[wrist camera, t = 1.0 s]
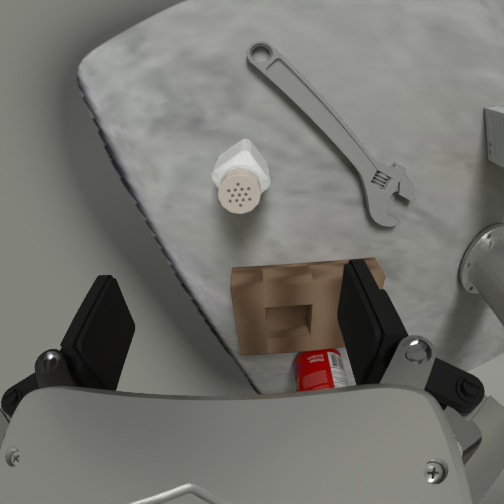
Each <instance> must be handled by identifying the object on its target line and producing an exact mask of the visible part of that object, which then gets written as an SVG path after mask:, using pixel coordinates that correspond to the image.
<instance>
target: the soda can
mask: <svg viewBox="0 0 504 504" xmlns="http://www.w3.org/2000/svg"><path fill="white" fill-rule="evenodd" d="M294 374H295V382H296V392H301V391H311V390H321V389H330V388H338V387H346V386H348V382H347V378H346V374H345V370H344V366H343V362H342V358H341V355H340V353H339V351H338V350H336V349H335V348H330V349H321V350H311V351H303V352H301V353H300V354H299V355H298V356H297V357H296V359H295V360H294Z"/></svg>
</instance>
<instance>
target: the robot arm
mask: <svg viewBox="0 0 504 504" xmlns="http://www.w3.org/2000/svg"><path fill="white" fill-rule="evenodd" d="M459 277H460V282H461V284H462V286H463V287H464V288H465V290H466V291H467V292H469V293H472V294H478V293H480V294H481V295H482V297H483V298H484V300H485V301H486V302H487V304H488V305H489V306H490V308H491V309H492V311H493V312H494V313H495V315H496V316H497V318H498V319H499V321H500V322H501V324H502V325H503V327H504V224H495V225H492V226H490V227H488V228H486V229H485V230H484V231H482V232H481V233H480V234H479V235H478V236H477V237H476V238H475V239H474V241H473V242H472V243H471V245H470V246H469V248H468V249H467V251H466V253H465V255H464V257H463V260H462V263H461V267H460V276H459ZM337 320H338V323H339V327H340V330H341V333H342V337H343V340H344V343H345V347H346V350H347V353H348V357H349V360H350V364H351V367H352V371H353V374H354V378H355V382H356V385H355V386H346V387H338V388H330V389H321V390H311V391H301V392H290V393H277V394H261V395H238V396H237V395H236V396H186V395H160V394H145V393H132V392H121V391H116V389H117V385H118V382H119V379H120V375H121V372H122V369H123V366H124V363H125V359H126V356H127V353H128V350H129V347H130V344H131V341H132V338H133V335H134V332H135V323H134V321H133V319H132V316H131V314H130V312H129V310H128V307H127V305H126V302H125V300H124V297H123V295H122V292H121V290H120V287H119V285H118V282H117V280H116V279H115V278H113V277H112V276H111V275H99V276H98V277H97V278H96V280H95V282H94V283H93V285H92V287H91V288H90V290H89V292H88V294H87V295H86V297H85V299H84V301H83V302H82V304H81V306H80V308H79V310H78V312H77V313H76V315H75V317H74V319H73V321H72V323H71V325H70V327H69V329H68V330H67V332H66V334H65V336H64V338H63V340H62V342H61V344H60V345H61V347H62V348H61V350H60V351H59V350H57V349H49V350H47V351H45V352H43V353H42V354H41V355H40V356H39V357H38V358H37V360H36V363H35V373H33V374H32V375H30V376H29V377H27V378H26V379H24V380H22V381H20V382H19V383H17V384H15V385H14V386H12V387H11V388H9V389H8V390H7V391H6V392H5V393H4V395H3V397H2V401H1V406H2V407H1V408H0V504H478V503H479V502H480V500H481V499H482V498H483V497H484V495H485V494H486V493H487V491H488V490H489V489H490V487H491V486H492V484H493V483H494V482H495V480H496V479H497V477H498V476H499V475H500V473H501V472H502V470H503V469H504V407H503V406H502V405H501V404H500V403H498V402H497V401H496V400H495V399H494V398H493V397H492V396H489V397H487V396H486V395H484V387H483V384H482V382H481V381H480V380H479V379H478V378H477V377H475V376H474V375H472V374H470V373H467V372H465V371H463V370H461V369H459V368H457V367H455V366H453V365H450V364H448V363H446V362H444V361H442V360H440V359H438V358H436V357H435V356H436V351H435V348H434V346H433V344H432V343H431V342H430V341H429V340H427V339H426V338H424V337H421V336H417V335H411V336H408V334H407V332H406V330H405V327H404V325H403V323H402V321H401V319H400V317H399V315H398V313H397V311H396V309H395V307H394V306H393V304H392V302H391V300H390V298H389V296H388V294H387V292H386V291H385V290H384V289H379V287H378V285H377V283H376V281H375V279H374V277H373V275H372V273H371V272H370V270H369V268H368V266H367V264H366V262H365V261H364V259H354V260H349V262H348V264H344V269H343V277H342V284H341V291H340V298H339V305H338V311H337ZM454 435H455V436H454ZM456 440H457V441H458V442H459V443H460V445H461V446H462V450H463V455H462V457H461V454H460V451H459V448H458V445H457V442H456Z"/></svg>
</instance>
